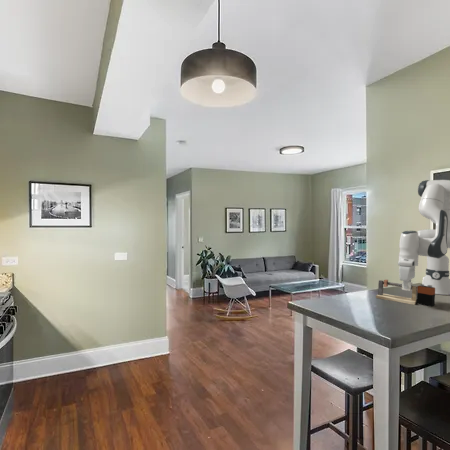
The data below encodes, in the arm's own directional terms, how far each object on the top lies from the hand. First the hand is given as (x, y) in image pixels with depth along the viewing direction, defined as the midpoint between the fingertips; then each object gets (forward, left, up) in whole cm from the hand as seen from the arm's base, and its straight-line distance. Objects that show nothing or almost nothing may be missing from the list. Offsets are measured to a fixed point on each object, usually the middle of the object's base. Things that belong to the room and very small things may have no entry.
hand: (407, 287), depth 161 cm
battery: (-1, +8, -7) cm, 11 cm away
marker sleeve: (0, 0, -1) cm, 1 cm away
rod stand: (0, -5, -7) cm, 8 cm away
